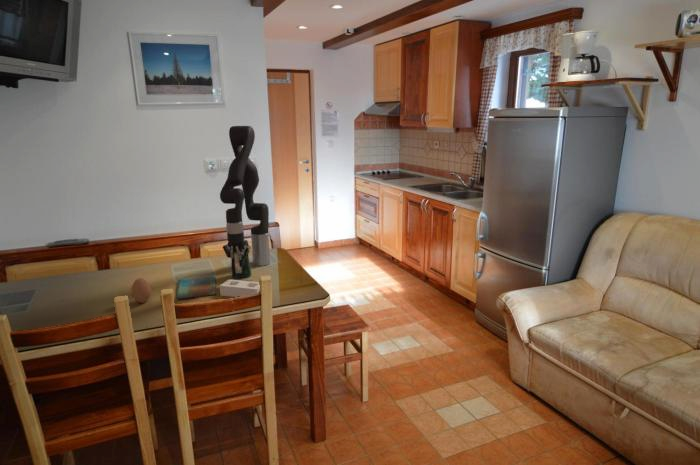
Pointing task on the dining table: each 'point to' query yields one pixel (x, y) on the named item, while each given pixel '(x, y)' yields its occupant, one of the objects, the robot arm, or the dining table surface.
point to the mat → (242, 280)
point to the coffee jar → (245, 268)
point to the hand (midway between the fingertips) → (238, 266)
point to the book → (196, 288)
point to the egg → (141, 290)
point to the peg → (237, 263)
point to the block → (238, 288)
